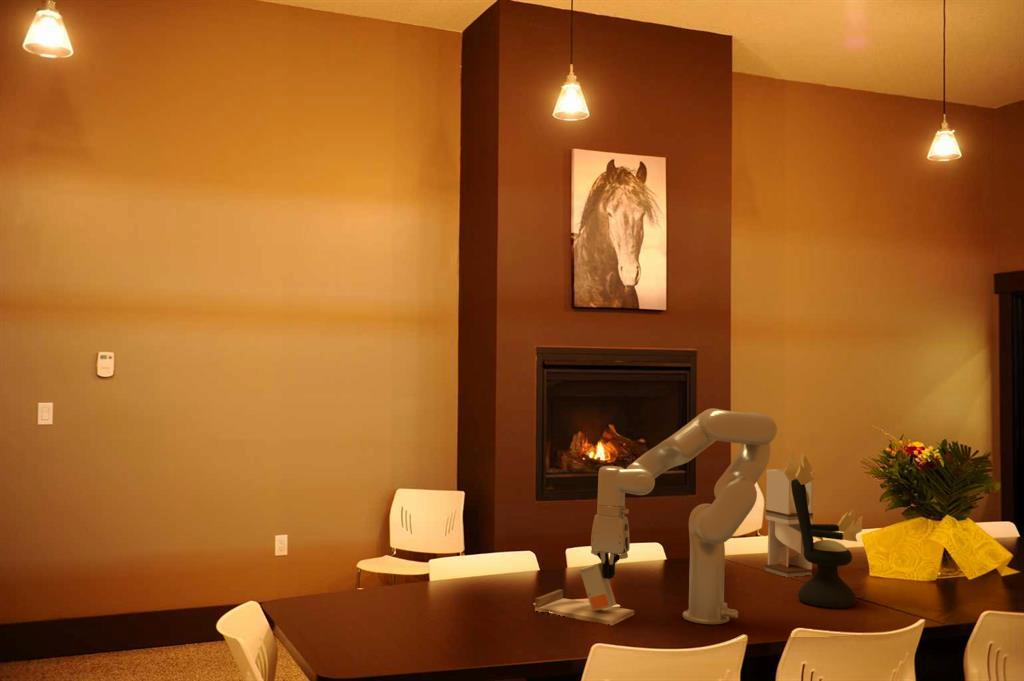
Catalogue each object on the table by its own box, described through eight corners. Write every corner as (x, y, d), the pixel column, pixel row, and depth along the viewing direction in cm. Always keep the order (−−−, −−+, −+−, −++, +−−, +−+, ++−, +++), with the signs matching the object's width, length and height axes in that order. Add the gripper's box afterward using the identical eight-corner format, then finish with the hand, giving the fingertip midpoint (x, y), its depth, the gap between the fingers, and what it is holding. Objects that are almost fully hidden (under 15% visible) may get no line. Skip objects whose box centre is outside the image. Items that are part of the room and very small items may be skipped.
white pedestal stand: (764, 570, 335) (766, 469, 336) (788, 568, 339) (790, 468, 340) (787, 577, 325) (789, 473, 326) (811, 575, 329) (813, 472, 330)
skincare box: (591, 612, 266) (578, 569, 269) (598, 609, 270) (585, 566, 273) (611, 607, 264) (597, 564, 266) (617, 604, 268) (603, 561, 270)
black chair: (863, 613, 279) (866, 456, 280) (784, 607, 283) (786, 453, 284) (854, 598, 297) (856, 451, 298) (779, 592, 302) (782, 448, 303)
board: (634, 614, 270) (634, 601, 270) (612, 625, 258) (612, 611, 258) (559, 601, 282) (559, 589, 283) (534, 611, 271) (535, 598, 271)
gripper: (641, 512, 266) (638, 579, 266) (592, 506, 274) (590, 571, 274) (629, 515, 260) (627, 584, 259) (580, 509, 268) (578, 576, 267)
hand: (608, 577), depth 266 cm, fingers closed
